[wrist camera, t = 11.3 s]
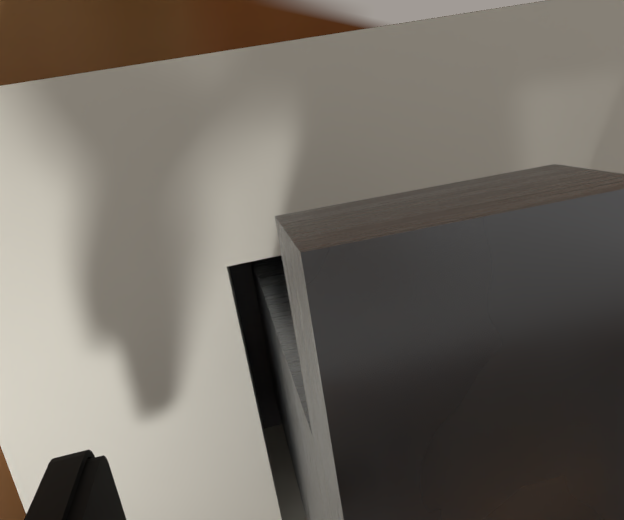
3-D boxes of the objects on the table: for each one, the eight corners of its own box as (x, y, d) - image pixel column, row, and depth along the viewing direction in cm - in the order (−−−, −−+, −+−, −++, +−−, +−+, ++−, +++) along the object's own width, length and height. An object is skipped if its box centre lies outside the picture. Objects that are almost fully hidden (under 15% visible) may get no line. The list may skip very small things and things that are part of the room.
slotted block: (537, 450, 19) (645, 558, 15) (132, 562, 18) (106, 729, 13) (513, 23, 16) (651, -16, 11) (-12, 108, 14) (-127, 105, 9)
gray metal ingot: (373, 382, 17) (648, 813, 6) (277, 405, 17) (406, 904, 6) (340, 133, 15) (668, 180, 4) (229, 152, 14) (300, 253, 4)
